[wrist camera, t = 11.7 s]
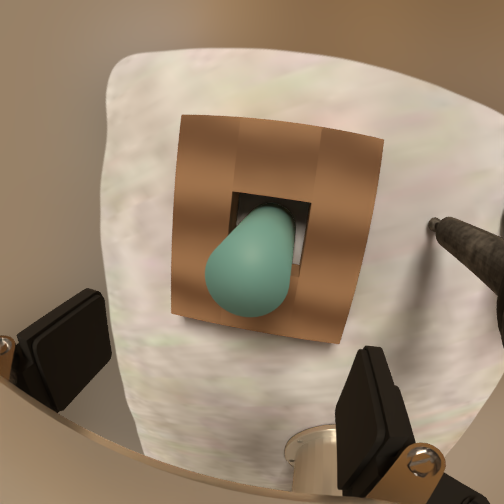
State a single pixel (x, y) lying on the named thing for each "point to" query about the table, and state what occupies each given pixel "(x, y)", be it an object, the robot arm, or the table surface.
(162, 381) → the table surface
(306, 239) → the socket board
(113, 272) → the table surface
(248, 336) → the table surface
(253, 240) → the peg
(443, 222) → the microphone
